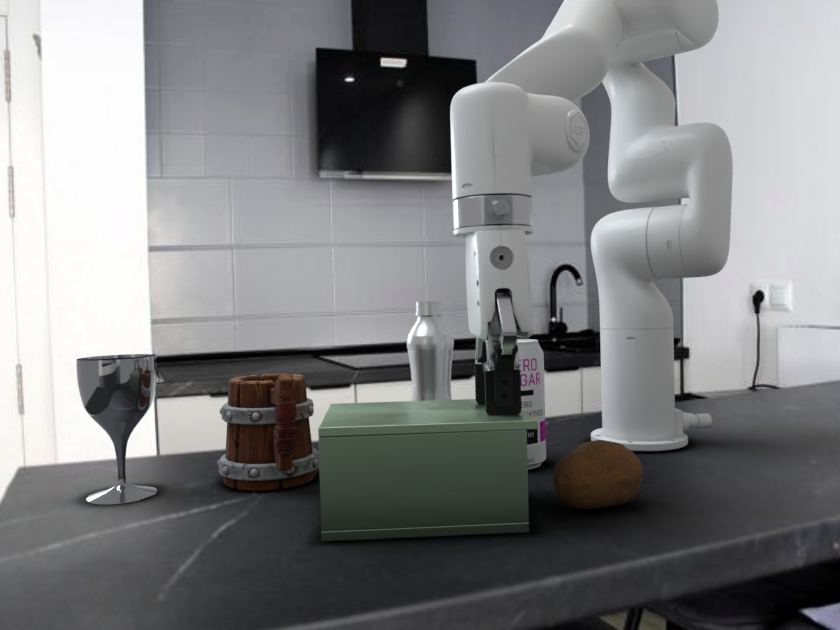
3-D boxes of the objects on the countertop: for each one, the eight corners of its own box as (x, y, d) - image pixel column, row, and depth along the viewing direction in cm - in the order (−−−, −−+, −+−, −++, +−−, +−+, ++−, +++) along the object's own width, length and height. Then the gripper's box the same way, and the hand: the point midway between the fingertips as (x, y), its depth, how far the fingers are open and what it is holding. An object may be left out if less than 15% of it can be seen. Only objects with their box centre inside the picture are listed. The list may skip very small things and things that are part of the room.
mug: (304, 458, 90) (306, 344, 87) (340, 505, 77) (344, 374, 75) (210, 470, 85) (209, 350, 82) (233, 522, 72) (232, 382, 70)
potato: (536, 506, 68) (534, 442, 68) (605, 489, 73) (604, 429, 73) (587, 524, 62) (586, 454, 62) (658, 503, 68) (657, 439, 68)
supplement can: (506, 453, 91) (503, 338, 91) (559, 462, 85) (556, 339, 85) (464, 465, 86) (461, 342, 85) (518, 475, 80) (515, 343, 79)
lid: (508, 405, 74) (507, 354, 74) (537, 429, 60) (535, 366, 60) (330, 411, 73) (329, 359, 73) (318, 437, 59) (316, 373, 59)
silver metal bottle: (458, 445, 97) (454, 300, 97) (456, 456, 90) (452, 301, 90) (412, 445, 98) (408, 302, 97) (406, 456, 91) (402, 302, 90)
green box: (502, 489, 74) (500, 405, 74) (529, 532, 60) (526, 429, 60) (333, 496, 73) (330, 411, 73) (321, 542, 60) (318, 437, 59)
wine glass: (83, 510, 71) (77, 362, 70) (80, 492, 78) (75, 357, 78) (166, 497, 74) (160, 357, 74) (156, 481, 82) (151, 352, 81)
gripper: (553, 206, 58) (558, 423, 59) (514, 228, 75) (518, 395, 76) (463, 208, 58) (469, 426, 58) (445, 229, 75) (449, 397, 75)
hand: (497, 406), depth 67 cm, fingers closed on lid, 6 cm apart
